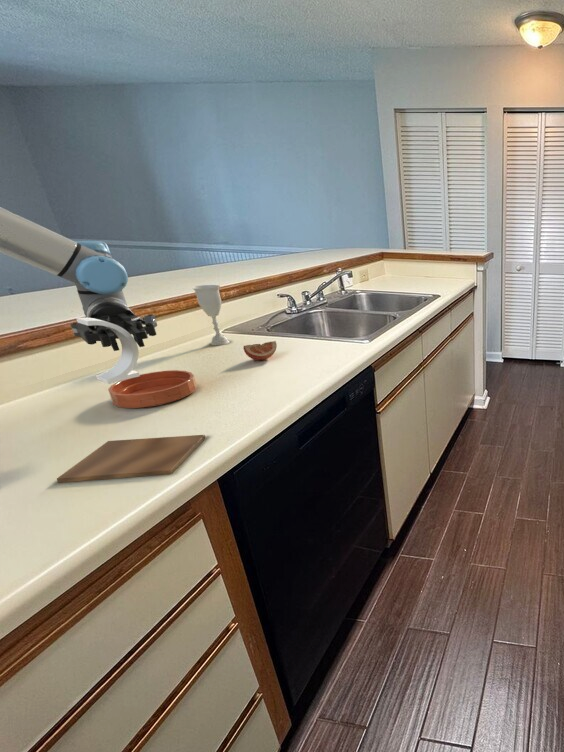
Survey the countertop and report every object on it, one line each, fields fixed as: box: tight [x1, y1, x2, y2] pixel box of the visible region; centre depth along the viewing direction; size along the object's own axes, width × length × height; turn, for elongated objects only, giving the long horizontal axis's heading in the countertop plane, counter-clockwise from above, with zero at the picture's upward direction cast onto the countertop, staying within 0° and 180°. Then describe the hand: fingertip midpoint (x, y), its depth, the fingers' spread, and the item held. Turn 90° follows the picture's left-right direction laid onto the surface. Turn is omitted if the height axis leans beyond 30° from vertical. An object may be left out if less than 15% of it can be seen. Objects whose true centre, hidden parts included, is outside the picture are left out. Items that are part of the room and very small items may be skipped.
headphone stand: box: [75, 316, 141, 385], centre depth 81 cm, size 5×6×12 cm
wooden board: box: [56, 434, 206, 484], centre depth 74 cm, size 16×12×1 cm
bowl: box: [107, 369, 198, 409], centre depth 97 cm, size 15×15×4 cm
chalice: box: [192, 284, 230, 346], centre depth 133 cm, size 7×7×18 cm
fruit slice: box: [243, 340, 278, 361], centre depth 121 cm, size 8×7×5 cm
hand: (127, 341), depth 78 cm, fingers closed on headphone stand, 3 cm apart
